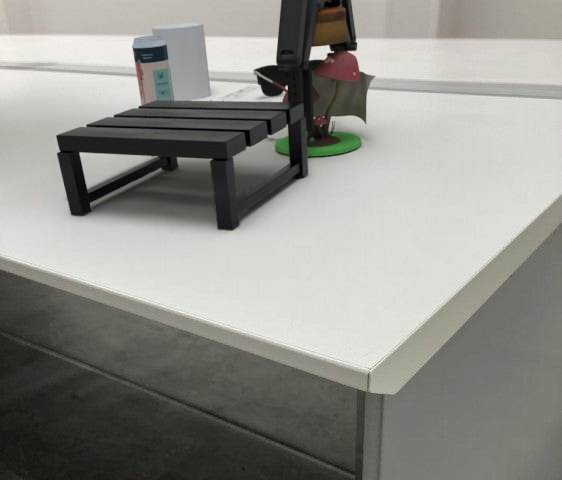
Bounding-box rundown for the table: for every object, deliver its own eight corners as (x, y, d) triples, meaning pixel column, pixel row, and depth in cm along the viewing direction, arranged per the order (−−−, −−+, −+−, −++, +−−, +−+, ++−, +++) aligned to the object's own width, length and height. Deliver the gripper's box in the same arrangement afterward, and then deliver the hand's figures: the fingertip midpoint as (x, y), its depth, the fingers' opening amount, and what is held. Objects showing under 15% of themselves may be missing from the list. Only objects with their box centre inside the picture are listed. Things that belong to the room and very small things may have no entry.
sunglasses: (327, 88, 120) (327, 57, 117) (372, 108, 108) (373, 74, 105) (254, 98, 116) (252, 67, 113) (292, 120, 104) (291, 85, 101)
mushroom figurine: (349, 161, 77) (347, 12, 69) (254, 154, 83) (242, 16, 75) (387, 138, 86) (390, 3, 78) (299, 133, 91) (293, 6, 84)
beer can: (155, 124, 103) (141, 35, 97) (183, 124, 101) (171, 34, 95) (139, 131, 99) (124, 40, 93) (168, 131, 98) (155, 38, 91)
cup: (200, 99, 119) (191, 22, 113) (219, 105, 113) (211, 24, 107) (156, 106, 116) (145, 27, 110) (173, 112, 110) (162, 29, 103)
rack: (70, 215, 67) (52, 136, 63) (167, 166, 81) (157, 99, 77) (232, 230, 60) (223, 143, 56) (308, 174, 74) (305, 101, 70)
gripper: (304, -106, 61) (314, 144, 72) (382, -98, 79) (380, 100, 91) (230, -97, 64) (250, 141, 75) (322, -92, 82) (327, 99, 93)
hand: (321, 119), depth 83 cm, fingers closed on mushroom figurine, 12 cm apart
